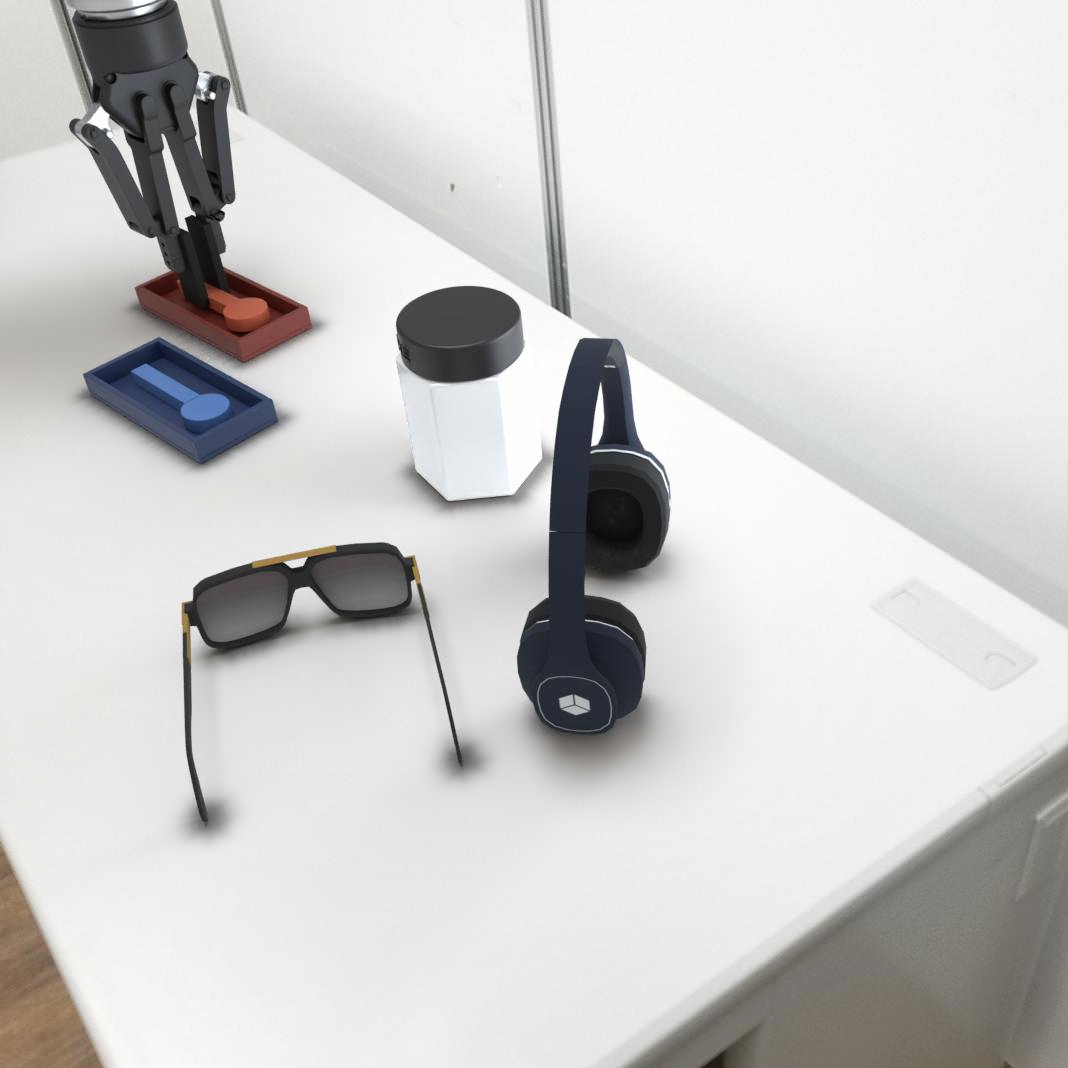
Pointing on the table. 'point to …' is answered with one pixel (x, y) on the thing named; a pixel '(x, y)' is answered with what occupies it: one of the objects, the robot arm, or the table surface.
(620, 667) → the headphones
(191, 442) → the blue tray
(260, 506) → the table surface
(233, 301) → the red spoon
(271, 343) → the red tray
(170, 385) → the blue spoon
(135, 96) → the robot arm
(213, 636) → the sunglasses
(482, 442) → the jar
